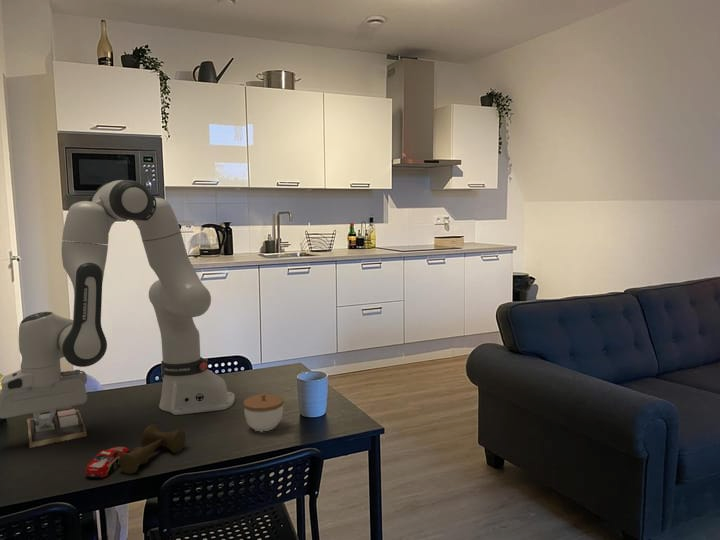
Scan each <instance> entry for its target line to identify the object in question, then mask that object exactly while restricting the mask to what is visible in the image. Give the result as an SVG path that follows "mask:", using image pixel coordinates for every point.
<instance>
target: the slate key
mask: <svg viewBox="0 0 720 540" xmlns="http://www.w3.org/2000/svg"><path fill="white" fill-rule="evenodd" d="M49 416H50V413H48V414H43V415H39V417H40V418H41V419H46V418H49ZM33 418H34V417H33ZM34 420H35V426H36V425H39V422H38V421H37V420H36V419H35V418H34ZM52 422H53V419H52Z"/></svg>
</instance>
